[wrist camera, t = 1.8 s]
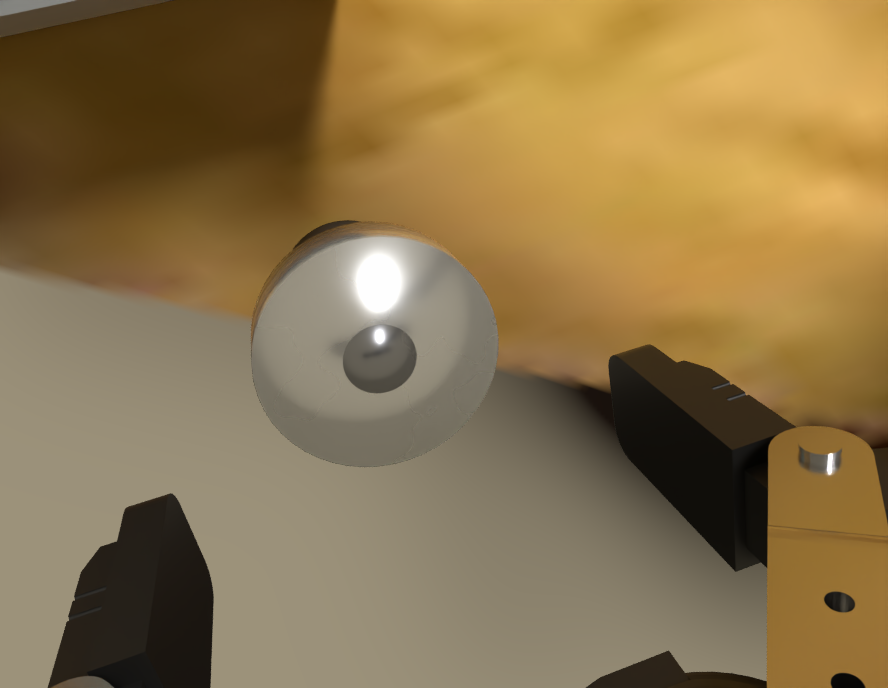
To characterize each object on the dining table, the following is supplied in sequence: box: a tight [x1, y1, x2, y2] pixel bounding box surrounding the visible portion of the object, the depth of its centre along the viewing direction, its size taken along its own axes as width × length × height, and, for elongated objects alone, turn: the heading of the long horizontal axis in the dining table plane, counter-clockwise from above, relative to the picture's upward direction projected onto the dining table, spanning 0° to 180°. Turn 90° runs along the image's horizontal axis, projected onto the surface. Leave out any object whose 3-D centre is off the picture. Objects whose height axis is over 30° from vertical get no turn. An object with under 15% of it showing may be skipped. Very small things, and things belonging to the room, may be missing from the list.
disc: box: [251, 221, 498, 467], centre depth 18 cm, size 6×6×2 cm
